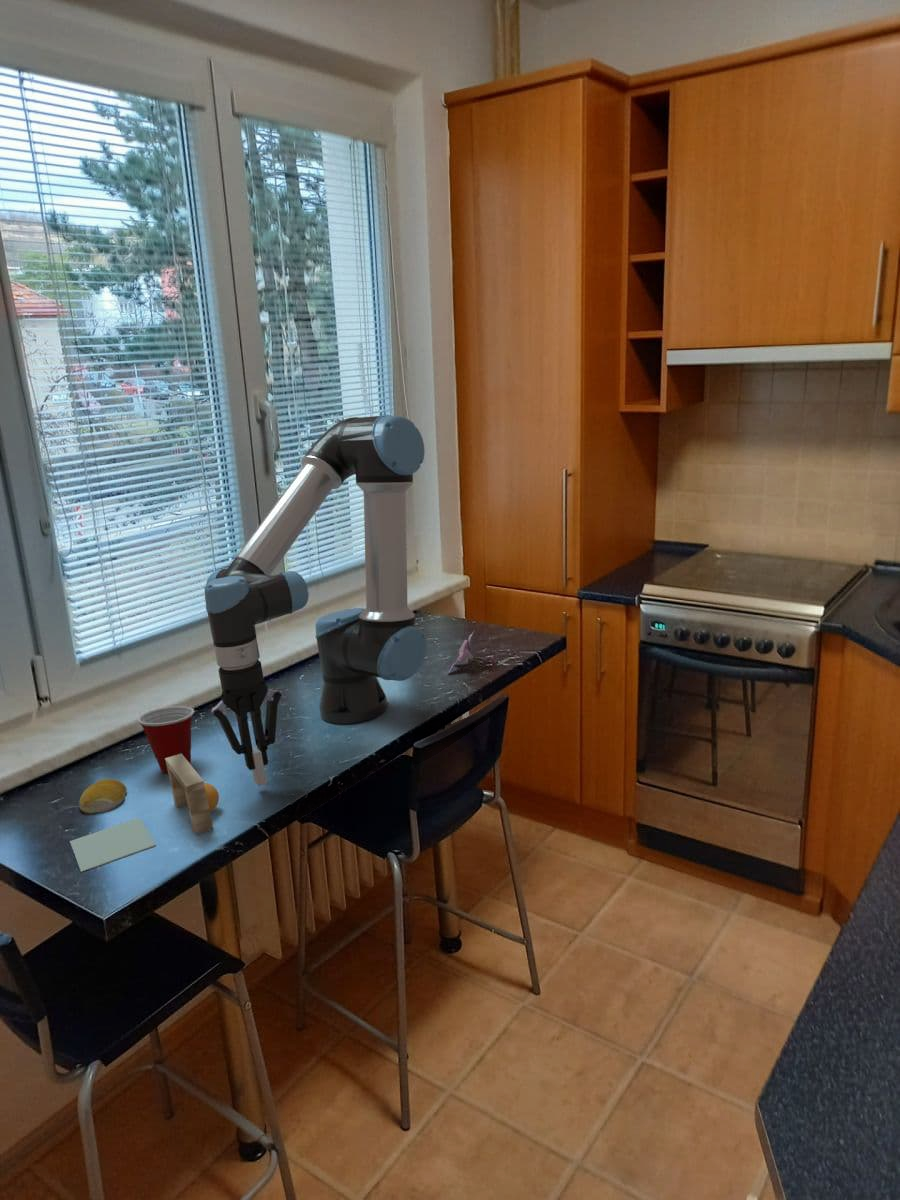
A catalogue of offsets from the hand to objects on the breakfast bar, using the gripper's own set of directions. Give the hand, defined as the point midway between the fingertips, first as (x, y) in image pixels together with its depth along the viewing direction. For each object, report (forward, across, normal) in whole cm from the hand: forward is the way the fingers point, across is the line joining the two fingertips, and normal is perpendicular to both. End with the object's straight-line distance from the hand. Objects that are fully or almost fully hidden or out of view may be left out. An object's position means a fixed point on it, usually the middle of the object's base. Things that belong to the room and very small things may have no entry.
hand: (260, 782), depth 160 cm
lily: (+2, +62, +27) cm, 68 cm away
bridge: (+2, -13, 0) cm, 13 cm away
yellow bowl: (+2, -25, +18) cm, 31 cm away
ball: (-1, -11, 0) cm, 11 cm away
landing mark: (+2, -27, 0) cm, 27 cm away
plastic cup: (+2, -10, +23) cm, 25 cm away
